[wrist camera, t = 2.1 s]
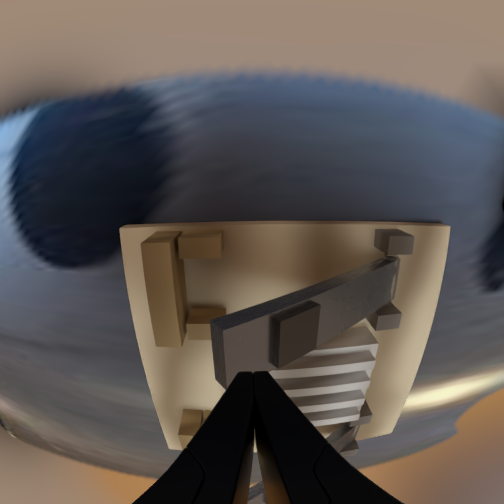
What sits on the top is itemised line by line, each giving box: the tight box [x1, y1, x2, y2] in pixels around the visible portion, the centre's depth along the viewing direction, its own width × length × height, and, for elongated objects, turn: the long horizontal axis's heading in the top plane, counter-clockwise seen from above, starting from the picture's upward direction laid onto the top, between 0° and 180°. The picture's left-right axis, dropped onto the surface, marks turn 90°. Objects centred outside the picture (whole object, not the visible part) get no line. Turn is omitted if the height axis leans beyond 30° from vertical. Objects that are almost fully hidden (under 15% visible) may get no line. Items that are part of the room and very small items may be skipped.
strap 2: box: [247, 422, 360, 504], centre depth 16 cm, size 12×3×1 cm
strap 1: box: [210, 254, 401, 390], centre depth 12 cm, size 12×3×1 cm
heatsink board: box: [119, 221, 450, 457], centre depth 17 cm, size 20×19×4 cm
